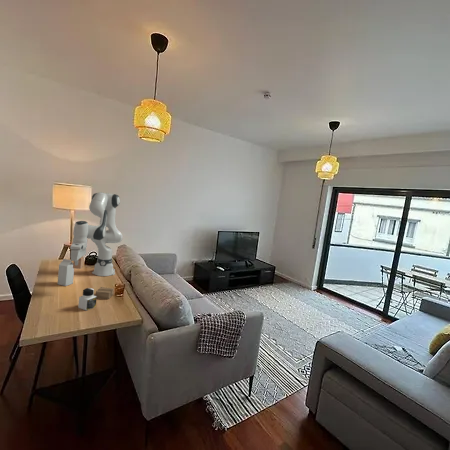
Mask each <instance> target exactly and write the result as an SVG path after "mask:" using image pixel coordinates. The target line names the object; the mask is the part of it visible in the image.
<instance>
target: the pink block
mask: <svg viewBox="0 0 450 450" xmlns="http://www.w3.org/2000/svg"><path fill="white" fill-rule="evenodd" d="M84 258H85V257H84V256H83V257H81V258H80V259H79V260H78V262H79V263H78V265H75V261H73V262H72V263H73V268H74V269H78V270H79V269H80V270H81V269H82V268H83V266H84Z"/></svg>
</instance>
